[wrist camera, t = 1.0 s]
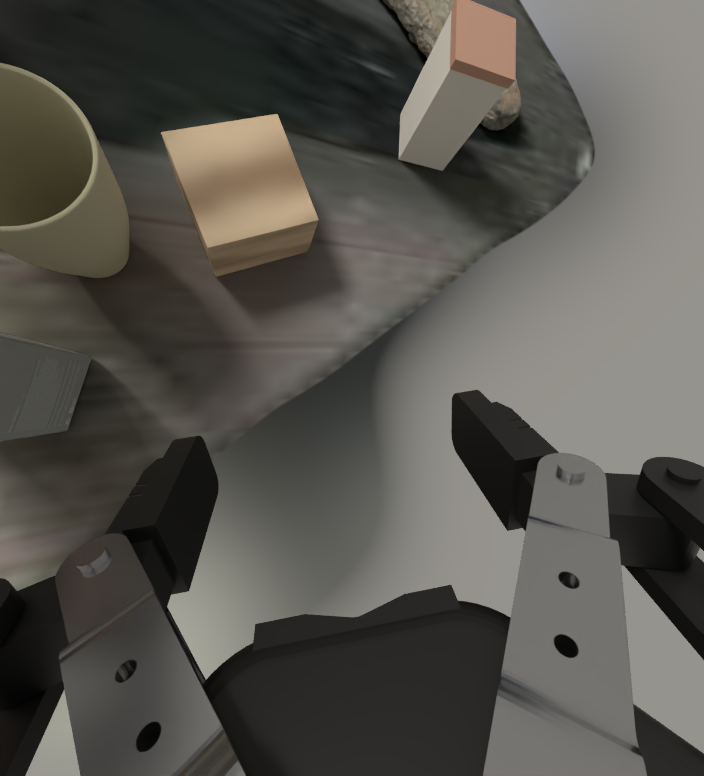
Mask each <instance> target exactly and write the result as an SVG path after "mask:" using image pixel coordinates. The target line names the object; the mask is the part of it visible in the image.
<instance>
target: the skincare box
mask: <svg viewBox="0 0 704 776" xmlns="http://www.w3.org/2000/svg"><path fill="white" fill-rule="evenodd" d="M90 362H91V356H88V355H85V354H81V353H78V352H74V351H71V350H67V349H64V348H60V347H56V346H53V345H49V344H45V343H41V342H37V341H34V340H30V339H26V338H21V337H17V336H13V335H9V334H5V333H1V332H0V441H6V440H12V439H19V438H25V437H32V436H37V435H44V434H51V433H58V432H64V431H67V430H68V428H69V425H70V421H71V418H72V415H73V412H74V409H75V406H76V403H77V400H78V397H79V394H80V391H81V388H82V385H83V382H84V379H85V376H86V373H87V370H88V367H89V364H90Z"/></svg>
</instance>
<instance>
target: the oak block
mask: <svg viewBox="0 0 704 776" xmlns="http://www.w3.org/2000/svg"><path fill="white" fill-rule="evenodd" d="M161 134H162V137H163V140H164V143H165V146H166V149H167V152H168V155H169V158H170V161H171V164H172V167H173V170H174V173H175V176H176V179H177V182H178V185H179V187H180V190H181V192H182V195H183V197H184V200H185V202H186V205H187V207H188V210H189V212H190V215H191V217H192V220H193V222H194V225H195V227H196V230H197V232H198V234H199V237H200V239H201V242H202V244H203V247H204V249H205V252H206V254H207V257H208V259H209V262H210V264H211V267H212V269H213V272H214V274H215V277H217V276H221V275H225V274H228V273H232V272H236V271H239V270H243V269H246V268H250V267H254V266H257V265H261V264H265V263H268V262H272V261H276V260H279V259H283V258H286V257H290V256H294V255H297V254H301V253H305V252H308V251H309V248H310V245H311V242H312V239H313V236H314V233H315V230H316V227H317V224H318V221H319V219H318V217H317V214H316V212H315V209H314V207H313V204H312V201H311V199H310V196H309V194H308V191H307V189H306V186H305V183H304V181H303V178H302V176H301V173H300V171H299V168H298V166H297V163H296V160H295V158H294V155H293V153H292V150H291V148H290V145H289V142H288V140H287V137H286V135H285V132H284V130H283V127H282V124H281V122H280V119H279V117H278V114H274V115H268V116H261V117H255V118H249V119H242V120H236V121H230V122H223V123H217V124H211V125H204V126H198V127H192V128H185V129H179V130H173V131H166V132H161Z"/></svg>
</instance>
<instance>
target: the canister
mask: <svg viewBox="0 0 704 776" xmlns="http://www.w3.org/2000/svg"><path fill="white" fill-rule="evenodd" d="M515 55H516V19H515V18H512V17H510V16H507V15H505V14H502V13H500V12H497V11H495V10H492V9H490V8H488V7H485V6H483V5H480V4H478V3H475V2H473V1H470V0H454V2H453V4H452V7H451V12H450V14H449V16H448V18H447V20H446V23H445V25H444V27H443V29H442V31H441V33H440V35H439V37H438V39H437V41H436V43H435V45H434V47H433V49H432V51H431V53H430V55H429V57H428V59H427V61H426V63H425V65H424V67H423V69H422V71H421V74H420V76H419V78H418V80H417V82H416V84H415V86H414V88H413V90H412V92H411V94H410V96H409V98H408V100H407V102H406V104H405V106H404V108H403V110H402V112H401V115H400V139H399V160H402V161H406V162H410V163H414V164H418V165H421V166H425V167H429V168H433V169H437V170H441V171H443V170H444V168H445V167H446V166H447V164H448V163H449V162H450V161H451V159H452V158H453V157H454V155H455V154H456V153H457V152H458V150H459V149H460V148H461V146H462V145H463V144H464V143H465V141H466V140H467V139H468V137H469V136H470V135H471V134H472V132H473V131H474V130H475V128H476V127H477V126H478V125H479V123H480V122H481V121H482V119H483V118H484V117H485V116H486V114H487V113H488V112H489V110H490V109H491V108H492V107H493V105H494V104H495V103H496V101H497V100H498V99H499V98H500V96H501V95H502V94H503V92H504V91H505V90H506V89H509V88H510V86H511V85H512V84H513V82H514V81H515Z"/></svg>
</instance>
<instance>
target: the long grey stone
mask: <svg viewBox="0 0 704 776" xmlns="http://www.w3.org/2000/svg"><path fill="white" fill-rule="evenodd" d="M453 2H454V0H383V3H385V4H386V5H387V6H388V7H389V8H390V9H392V10H393V11H395V12H396V14H397V16H398V19H399V21H400V22H401V23H402V25H403V28H405V29H406V30H407V31H408V32H409V39H410V40H411V42H413V43H415V44H416V45H417V46H418V49H419V50H420V51H422V53H423V54H425V56H426V57H427V58H428V57H429V55H430V53H431V51H432V49H433V47H434V45H435V43H436V41H437V39H438V37H439V35H440V33H441V31H442V29H443V27H444V25H445V23H446V20H447V18H448V16H449V14H450V12H451V7H452V4H453ZM520 109H521V96H520V92H519V88H518V83H517V80H516V76H515V81H514V82H513V84H512V85H511V86H510V88H509V89H506V90H505V91H504V92H503V94H502V95H501V96H500V98H499V99H498V100H497V101H496V103H495V104H494V105H493V107H492V108H491V109H490V110H489V112H488V113H487V114H486V116H485V117H484V118H483V119H482V121H481V122H480V123H481V124H482V125H483V126H484V127H486V128H488V129H489V130H500V129H504V128H505V127H507V126H508V125H509V124H511V123H512V122H513V121H514V120H515V119H516V118H517V117H518V116H519V111H520Z"/></svg>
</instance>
